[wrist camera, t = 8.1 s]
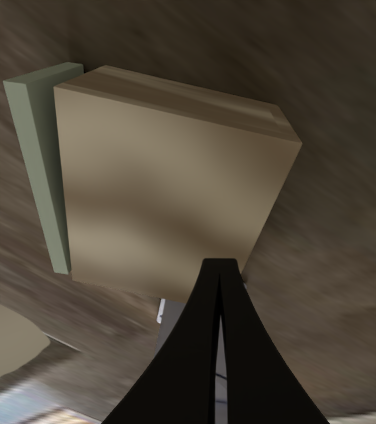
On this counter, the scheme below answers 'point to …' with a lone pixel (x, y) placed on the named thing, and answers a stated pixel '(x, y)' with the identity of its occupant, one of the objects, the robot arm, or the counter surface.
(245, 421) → the robot arm
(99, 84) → the cabinet
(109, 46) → the counter surface
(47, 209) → the door
